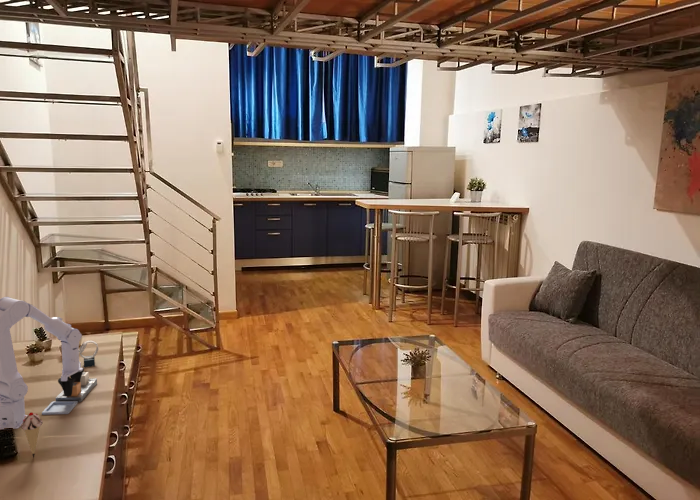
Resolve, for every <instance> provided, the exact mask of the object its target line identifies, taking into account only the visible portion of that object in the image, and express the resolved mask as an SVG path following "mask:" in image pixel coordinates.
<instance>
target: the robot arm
mask: <svg viewBox="0 0 700 500" xmlns="http://www.w3.org/2000/svg"><path fill="white" fill-rule="evenodd" d="M25 317H26V318H30V319H32V320H35V321H36V322H38V323H40V324H42V325H43V326H44V330H45V331H46V332H48V333H49V334H51V335H52V336H54V337H56V338H57V339H58V340H59V341H61V342H60V343H61V358H62V359H61V360H62V361H61V363H62V370H61V376H60V378H58V379H57V382H58V384H59V385H60V386H61V389H62V391H64V394H65V396H71V395H72V389H73V383H74V382H80V380H81V376H82V373H83V372H85V367H82V362H81V361H80V352H79V349H80V347H79V346H80V341H81V339H82V336H83V334H82V333H81V332H80V330H79V329H78V328H74V327H72V324H70V323H66V322H64V321H63V318H62V317H60V316H58V317H57V316H52V317H50V316H49V315H47V314H46V313H45V312H43V311H42V310H41V309H39V308H37V307H36V306H34V305H33V304H31V303H29V302H27V301H25V300H22V299H21V300H20V299H16V298H12V297H10V296H3V297H1V298H0V430H5V429H4V428H13V430H14V429H19V428H21V424H22V423H23V420H24V418H25V416H27V415H28V414H26V408H25V407H26V406H25V405H26V404H25V396H26V395H27V393H28V390H29V389H28V388H29V387H28V385H27V384H26V382H25V381H24V378H23V376H22V375H21V373H20V372H19V371H18V366H17V360H16V355H15V350H14V345H13V340H12V334H11V328H12V327H13V326H14V325H16V324H17V323H18V322H20V321H21V320H22V319H24V318H25Z"/></svg>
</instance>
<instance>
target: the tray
mask: <svg viewBox="0 0 700 500" xmlns="http://www.w3.org/2000/svg"><path fill="white" fill-rule="evenodd" d="M77 404H79V402H78V401H56V400H54V401H51V402H50V403H49V405H47V406H46V407H45V408H44V410H42V411H41V415H45V416H46V415H69V414H70V412H71V411H72V410H73V409H74V408H75V407H76V406H77Z"/></svg>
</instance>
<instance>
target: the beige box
mask: <svg viewBox="0 0 700 500" xmlns="http://www.w3.org/2000/svg"><path fill="white" fill-rule="evenodd" d="M89 375H90V374H89V371H86V372H85V371H83V373H82V376H81V380H80V382H81V385H87V384H88V382H89V379H90V378H89V377H90V376H89Z"/></svg>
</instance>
